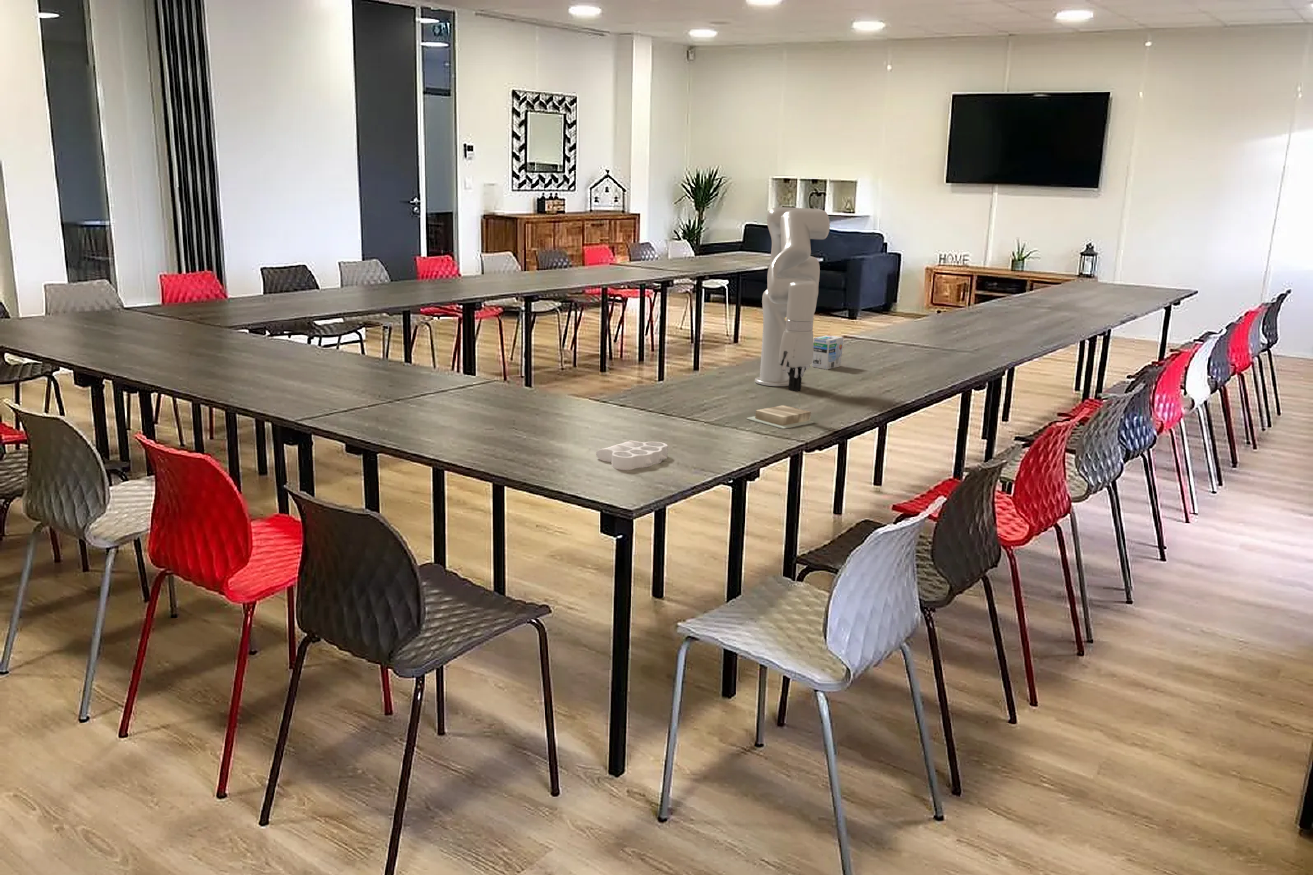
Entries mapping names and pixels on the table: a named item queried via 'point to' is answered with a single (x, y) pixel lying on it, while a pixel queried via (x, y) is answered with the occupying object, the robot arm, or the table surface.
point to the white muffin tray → (634, 454)
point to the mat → (780, 425)
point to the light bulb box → (827, 352)
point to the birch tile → (782, 415)
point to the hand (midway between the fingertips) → (794, 390)
